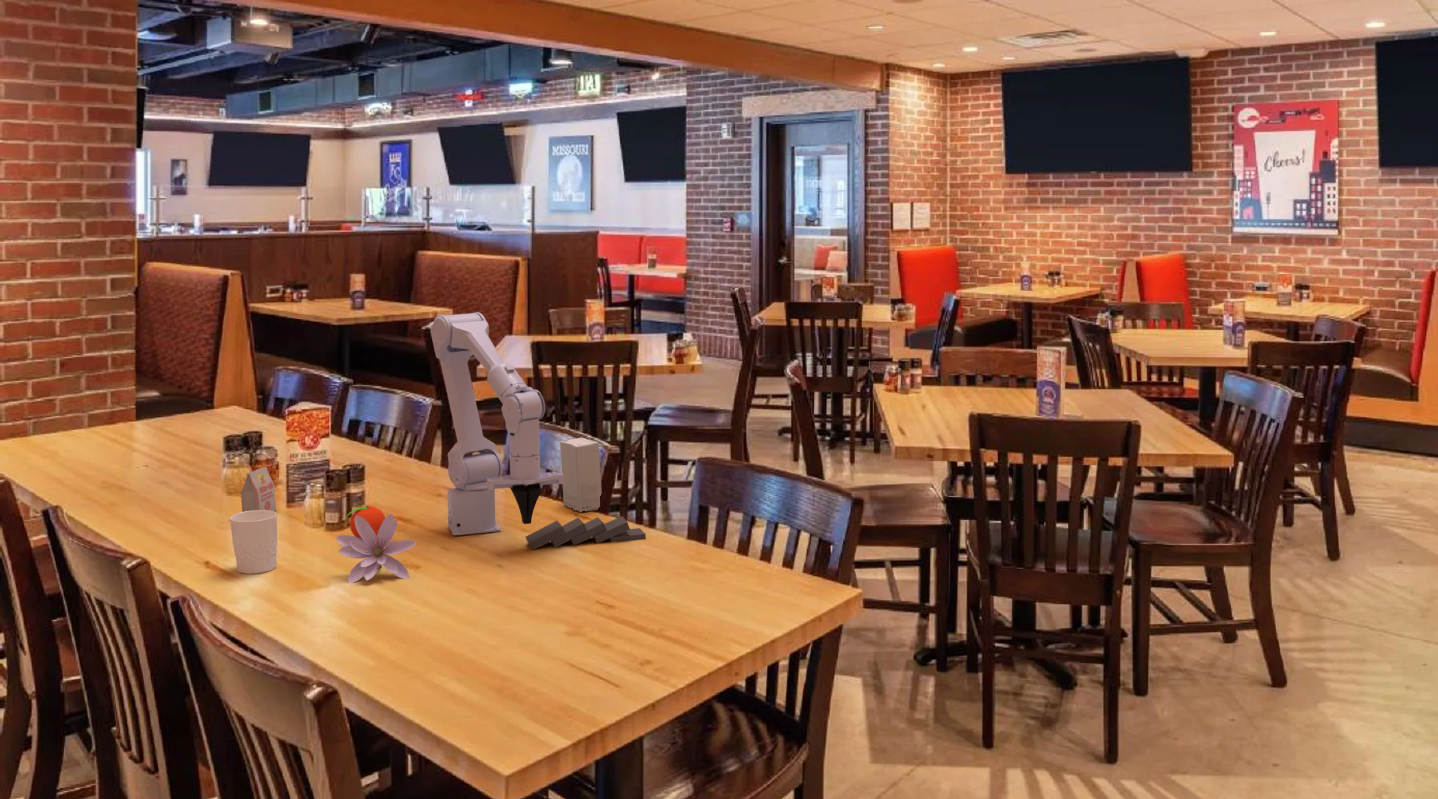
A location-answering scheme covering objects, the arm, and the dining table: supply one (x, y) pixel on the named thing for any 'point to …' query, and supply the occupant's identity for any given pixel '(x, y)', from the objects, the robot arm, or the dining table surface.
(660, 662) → the dining table surface
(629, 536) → the tile
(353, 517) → the tomato
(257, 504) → the milk carton
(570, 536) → the tile
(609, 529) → the tile
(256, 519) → the white cup
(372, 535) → the water lily
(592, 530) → the tile
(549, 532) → the tile
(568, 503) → the skincare box
